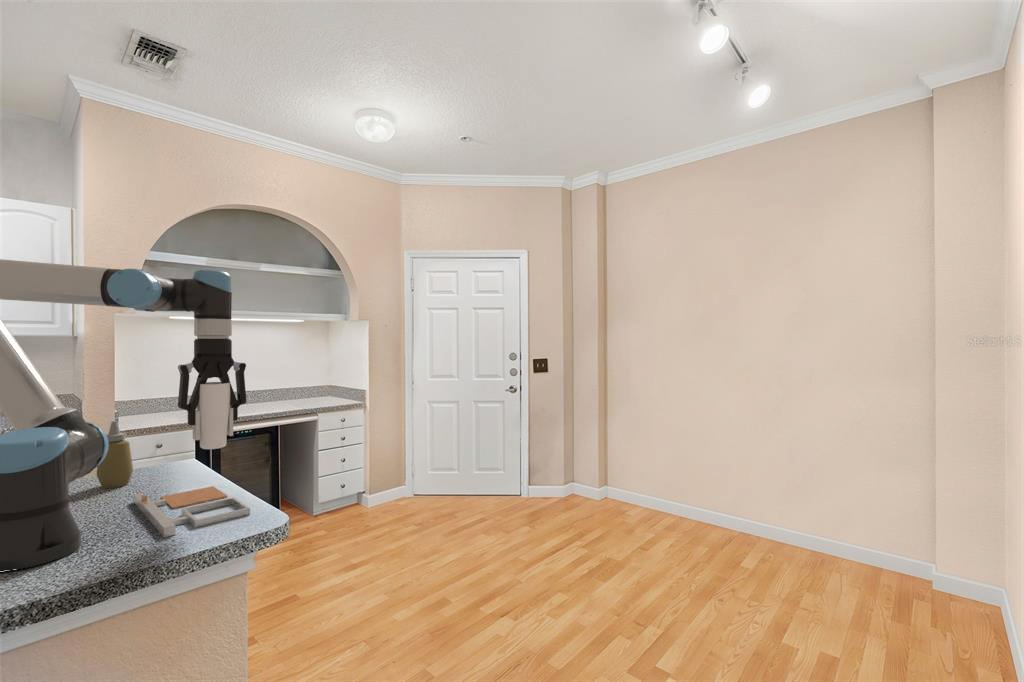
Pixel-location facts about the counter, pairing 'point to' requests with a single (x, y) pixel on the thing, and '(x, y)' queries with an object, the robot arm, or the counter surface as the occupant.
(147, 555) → the counter surface
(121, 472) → the squeeze bottle
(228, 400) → the drinking glass
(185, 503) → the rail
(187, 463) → the counter surface
